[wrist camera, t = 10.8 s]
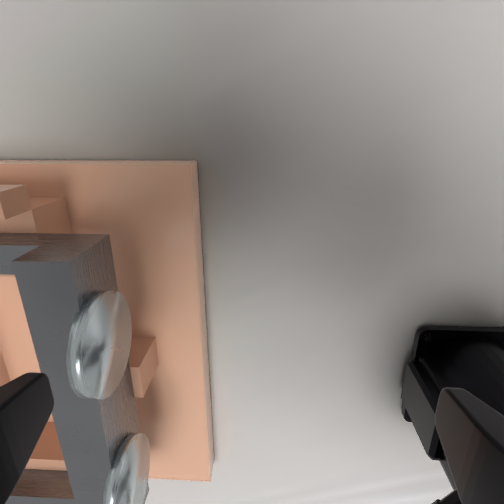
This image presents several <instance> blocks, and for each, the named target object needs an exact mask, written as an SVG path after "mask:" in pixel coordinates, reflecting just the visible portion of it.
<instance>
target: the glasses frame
mask: <svg viewBox="0 0 504 504" xmlns="http://www.w3.org/2000/svg"><path fill="white" fill-rule="evenodd" d="M0 274H3V275H15V278H16V281H17V285H18V289H19V293H20V296H21V300H22V304H23V308H24V311H25V315H26V319H27V323H28V327H29V330H30V334H31V338H32V342H33V345H34V349H35V353H36V357H37V360H38V364H39V368H40V372H41V373H45V374H46V375H47V376H48V378H49V381H50V385H51V389H52V393H53V397H54V408H53V411H52V417H53V420H54V424H55V428H56V432H57V435H58V439H59V443H60V447H61V450H62V454H63V458H64V462H65V465H66V469H67V471H60V470H40V469H24V471H23V473H22V475H21V477H20V479H19V481H18V482H17V484H16V486H15V488H14V490H13V491H12V493H11V495H10V496H9V498H8V500H7V501H6V503H5V504H145V501H146V498H147V495H148V492H149V487H148V476H149V468H150V444H149V440H148V437H147V435H146V434H144V433H140V429H139V422H138V416H137V410H136V403H135V397H134V390H133V384H132V377H131V371H130V364H129V354H130V348H131V339H132V321H131V314H130V309H129V306H128V303H127V301H126V299H125V297H124V296H123V295H122V294H121V293H120V292H118V287H117V281H116V274H115V268H114V261H113V255H112V248H111V242H110V235H109V234H62V233H0Z"/></svg>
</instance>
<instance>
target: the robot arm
mask: <svg viewBox="0 0 504 504" xmlns="http://www.w3.org/2000/svg"><path fill="white" fill-rule="evenodd" d="M426 334H430V335H429V336H428V337H424V336H425V335H426ZM401 399H402V401H403V405H402V414H403V417H404V419H405V420H406V421H408V422H412V423H413V425H414V427H415V429H416V432H417V434H418V436H419V438H420V440H421V443H422V445H423V447H424V449H425V451H426V454H427V455H428V456H429V457H430V458H431V459H432V460H439V461H440V463H441V465H442V467H443V469H444V471H445V473H446V475H447V477H448V479H449V482H450V484H451V486H452V488H453V490H454V491H452V492H451V493H450V494H448V495H447V496H446V497H444V498H443V499H442V500H439V499H437V500H436V501H435V502H433V503H432V504H504V328H495V327H459V326H423V327H420V328H419V329H418V330H417V332H416V337H415V342H414V347H413V353H412V358H411V360H410V361H409V362H408V363H407V366H406V371H405V377H404V382H403V387H402V393H401ZM53 408H54V397H53V393H52V389H51V385H50V381H49V378H48V376H47V375H46V374H45V373H35V372H29V373H25V374H23V375H21V376H19V377H17V378H16V379H14V380H12V381H10V382H8V383H6V384H4V385H2V386H0V504H5V503H6V501H7V500H8V498H9V496H10V495H11V493H12V491H13V490H14V488H15V486H16V484H17V482H18V481H19V479H20V477H21V475H22V473H23V471H24V469H25V467H26V465H27V463H28V461H29V459H30V457H31V455H32V453H33V451H34V449H35V447H36V445H37V443H38V440H39V438H40V436H41V434H42V432H43V430H44V428H45V426H46V424H47V422H48V420H49V418H50V415H51V413H52V411H53Z"/></svg>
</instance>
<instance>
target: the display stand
mask: <svg viewBox="0 0 504 504" xmlns="http://www.w3.org/2000/svg"><path fill="white" fill-rule="evenodd" d="M0 233H62V234H109V235H110V242H111V248H112V255H113V261H114V268H115V274H116V281H117V287H118V292H120V293H121V294H122V295H123V296H124V297H125V299H126V301H127V303H128V306H129V309H130V314H131V321H132V339H131V348H130V354H129V364H130V371H131V377H132V384H133V390H134V397H135V403H136V410H137V416H138V422H139V429H140V433H144V434H146V435H147V437H148V440H149V444H150V468H149V476H148V478H153V479H172V480H191V481H211V476H212V470H213V464H214V450H213V432H212V415H211V397H210V379H209V362H208V344H207V327H206V309H205V291H204V274H203V256H202V239H201V221H200V204H199V186H198V168H197V161H166V160H0ZM29 372H35V373H41V372H40V368H39V364H38V360H37V357H36V353H35V349H34V345H33V342H32V338H31V334H30V330H29V327H28V323H27V319H26V315H25V311H24V308H23V304H22V300H21V296H20V293H19V289H18V285H17V281H16V278H15V275H3V274H0V386H2V385H4V384H6V383H8V382H10V381H12V380H14V379H16V378H17V377H19V376H21V375H23V374H25V373H29ZM25 469H40V470H60V471H67V469H66V465H65V462H64V458H63V454H62V450H61V447H60V443H59V439H58V435H57V432H56V428H55V424H54V420H53V417H52V413H51V415H50V418H49V420H48V422H47V424H46V426H45V428H44V430H43V432H42V434H41V436H40V438H39V440H38V443H37V445H36V447H35V449H34V451H33V453H32V455H31V457H30V459H29V461H28V463H27V465H26V467H25Z"/></svg>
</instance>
